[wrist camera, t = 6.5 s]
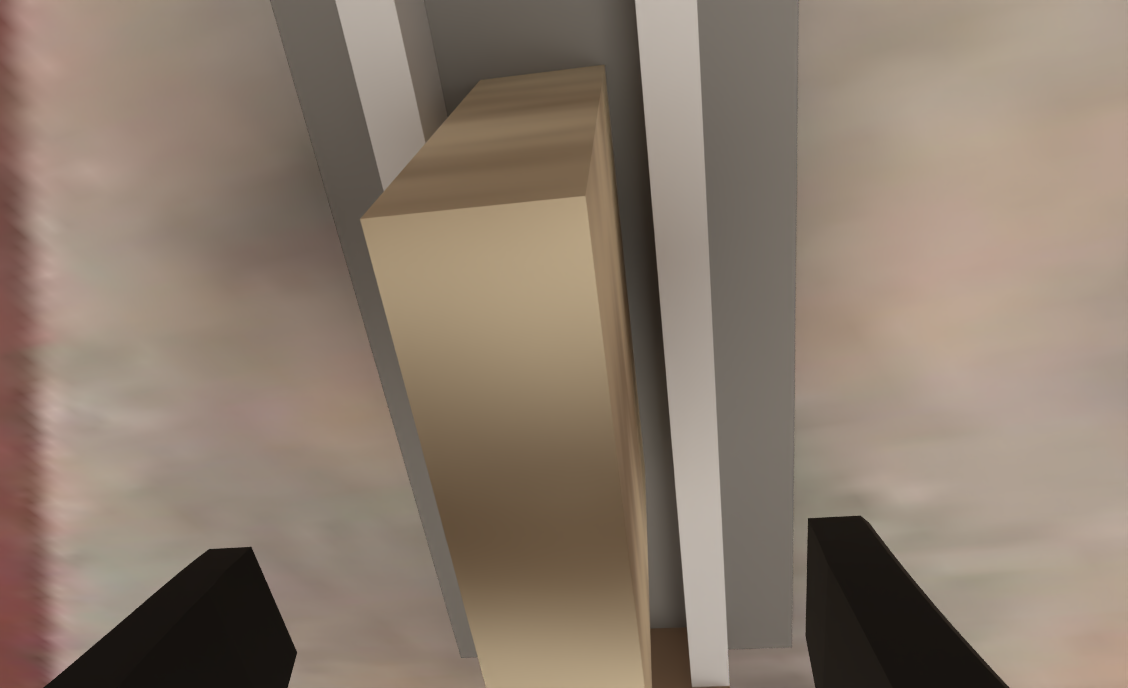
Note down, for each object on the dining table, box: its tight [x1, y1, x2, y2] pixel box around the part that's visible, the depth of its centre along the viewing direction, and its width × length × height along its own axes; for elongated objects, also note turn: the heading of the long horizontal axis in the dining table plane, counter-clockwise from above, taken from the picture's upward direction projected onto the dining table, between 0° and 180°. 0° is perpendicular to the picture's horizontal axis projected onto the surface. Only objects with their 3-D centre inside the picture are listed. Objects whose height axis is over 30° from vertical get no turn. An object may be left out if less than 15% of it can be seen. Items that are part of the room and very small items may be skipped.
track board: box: [270, 0, 799, 688], centre depth 16 cm, size 24×10×5 cm, turn 8°
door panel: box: [360, 65, 652, 688], centre depth 14 cm, size 10×2×8 cm, turn 8°
